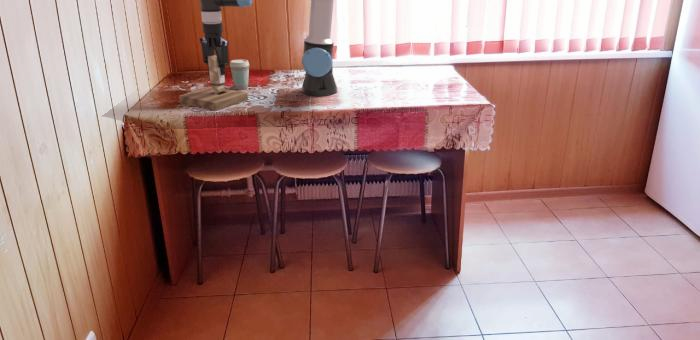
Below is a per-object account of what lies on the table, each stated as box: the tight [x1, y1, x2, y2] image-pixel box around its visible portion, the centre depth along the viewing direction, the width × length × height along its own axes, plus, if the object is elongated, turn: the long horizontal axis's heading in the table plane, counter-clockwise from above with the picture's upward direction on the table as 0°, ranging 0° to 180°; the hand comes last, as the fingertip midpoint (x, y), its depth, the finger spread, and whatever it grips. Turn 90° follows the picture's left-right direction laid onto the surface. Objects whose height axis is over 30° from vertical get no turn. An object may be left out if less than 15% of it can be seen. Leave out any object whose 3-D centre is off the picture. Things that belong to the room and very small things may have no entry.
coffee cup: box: [229, 59, 250, 91], centre depth 227 cm, size 9×8×12 cm
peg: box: [208, 54, 226, 92], centre depth 207 cm, size 4×4×14 cm
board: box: [178, 86, 249, 112], centre depth 208 cm, size 20×18×3 cm
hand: (217, 81), depth 208 cm, fingers closed on peg, 4 cm apart
